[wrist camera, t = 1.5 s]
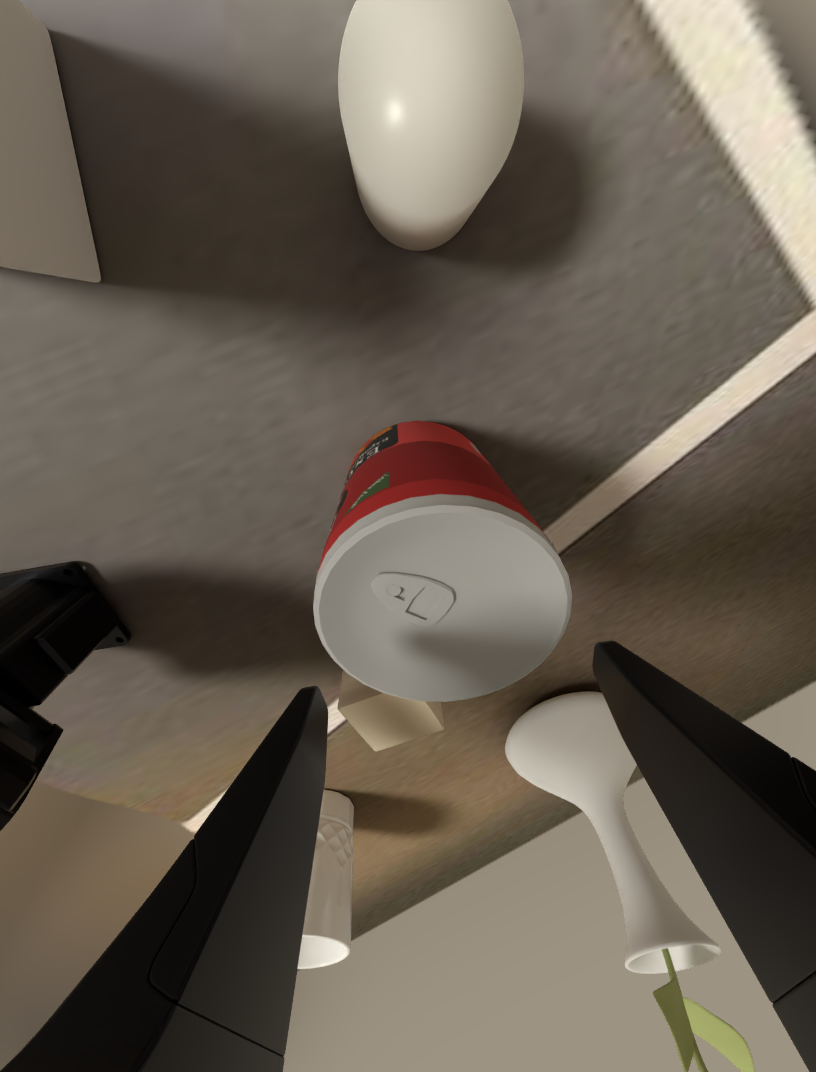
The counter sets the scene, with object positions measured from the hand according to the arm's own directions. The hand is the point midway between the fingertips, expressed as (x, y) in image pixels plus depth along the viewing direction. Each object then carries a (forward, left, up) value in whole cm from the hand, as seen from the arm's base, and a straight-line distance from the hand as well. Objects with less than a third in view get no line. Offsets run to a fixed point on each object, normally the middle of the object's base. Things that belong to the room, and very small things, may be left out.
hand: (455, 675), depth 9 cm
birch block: (-4, -13, -13) cm, 19 cm away
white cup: (-15, -32, -13) cm, 38 cm away
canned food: (0, 0, -13) cm, 13 cm away
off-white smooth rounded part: (+2, +13, -13) cm, 18 cm away
